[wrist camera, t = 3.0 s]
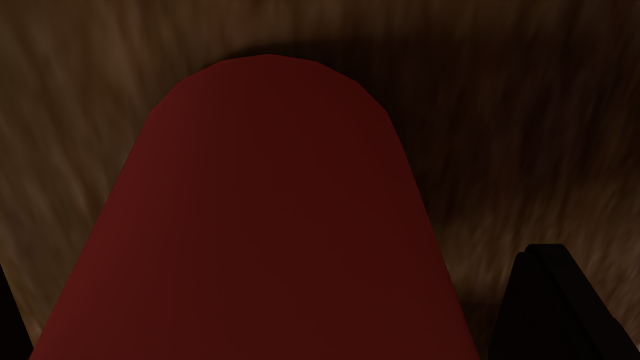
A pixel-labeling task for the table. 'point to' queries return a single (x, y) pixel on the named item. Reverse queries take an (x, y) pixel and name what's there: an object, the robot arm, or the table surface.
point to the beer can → (262, 232)
